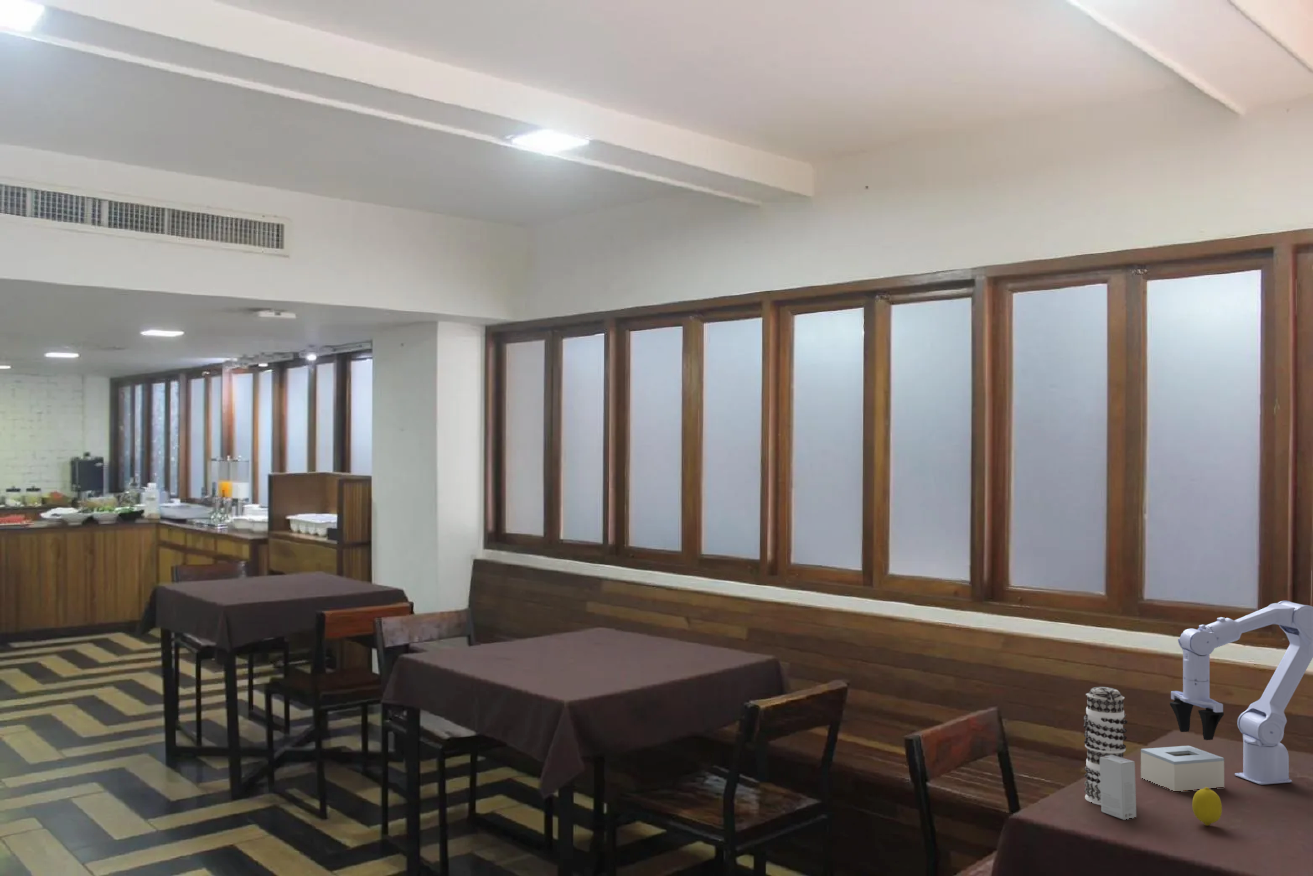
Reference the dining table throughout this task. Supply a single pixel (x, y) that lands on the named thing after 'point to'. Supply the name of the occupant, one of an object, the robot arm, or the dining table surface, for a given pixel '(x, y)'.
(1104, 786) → the skincare box
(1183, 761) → the tissue box
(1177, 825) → the dining table surface
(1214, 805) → the lemon
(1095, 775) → the decorative candle
